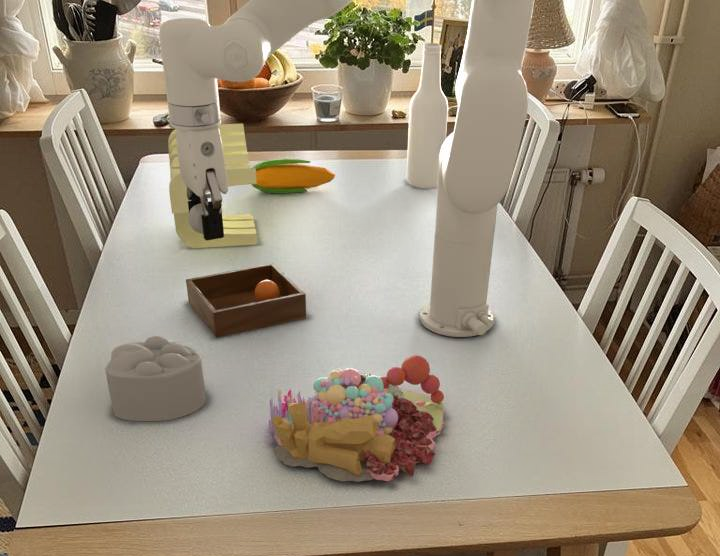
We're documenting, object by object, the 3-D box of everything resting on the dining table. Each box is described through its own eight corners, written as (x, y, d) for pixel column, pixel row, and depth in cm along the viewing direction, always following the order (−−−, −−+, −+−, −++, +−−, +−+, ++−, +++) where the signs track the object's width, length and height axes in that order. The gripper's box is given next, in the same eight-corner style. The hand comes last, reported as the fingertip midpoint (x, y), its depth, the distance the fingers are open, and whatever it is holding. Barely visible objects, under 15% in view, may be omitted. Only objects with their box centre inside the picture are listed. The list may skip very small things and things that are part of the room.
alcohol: (403, 177, 206) (409, 40, 188) (439, 176, 207) (448, 40, 189) (409, 189, 200) (415, 48, 181) (445, 188, 200) (456, 48, 182)
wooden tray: (306, 318, 146) (305, 293, 143) (215, 337, 140) (213, 312, 137) (274, 286, 156) (273, 262, 154) (188, 303, 150) (185, 279, 147)
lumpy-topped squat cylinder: (123, 383, 128) (113, 332, 123) (209, 382, 129) (203, 331, 123) (109, 421, 120) (98, 368, 115) (202, 420, 120) (195, 367, 115)
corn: (246, 153, 195) (333, 151, 197) (249, 186, 200) (333, 183, 202) (247, 166, 189) (336, 163, 191) (249, 199, 194) (336, 196, 196)
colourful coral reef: (430, 498, 107) (435, 437, 101) (250, 476, 110) (245, 417, 104) (449, 395, 126) (454, 340, 121) (295, 379, 130) (293, 325, 124)
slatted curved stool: (176, 211, 186) (166, 126, 175) (249, 207, 189) (243, 123, 178) (178, 266, 163) (166, 172, 152) (261, 260, 165) (255, 168, 154)
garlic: (230, 234, 136) (227, 202, 133) (200, 241, 134) (196, 209, 131) (214, 223, 140) (211, 191, 137) (184, 229, 138) (180, 197, 135)
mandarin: (284, 307, 149) (283, 283, 146) (260, 312, 147) (259, 288, 144) (274, 297, 152) (273, 274, 149) (251, 301, 150) (249, 278, 148)
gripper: (238, 125, 121) (248, 246, 132) (200, 97, 133) (211, 210, 144) (188, 131, 118) (201, 254, 129) (153, 103, 131) (168, 217, 142)
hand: (207, 230), depth 137 cm, fingers closed on garlic, 6 cm apart
